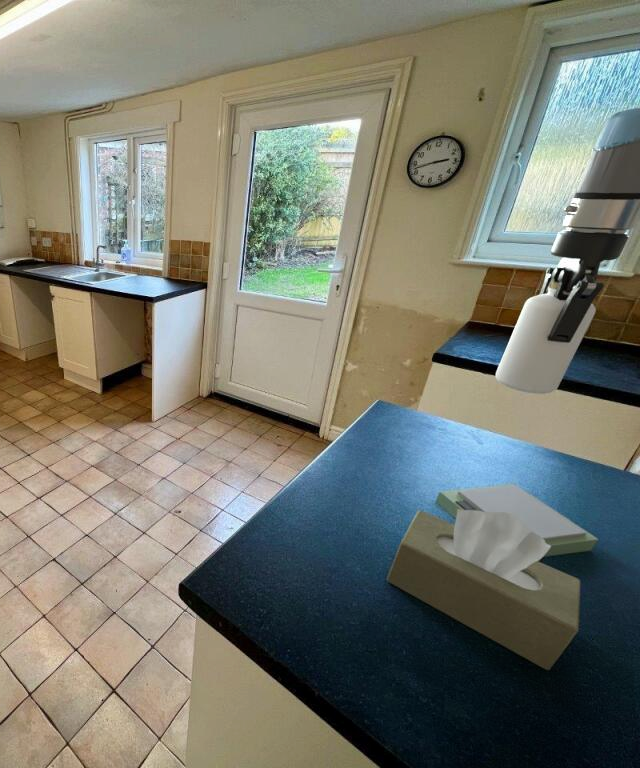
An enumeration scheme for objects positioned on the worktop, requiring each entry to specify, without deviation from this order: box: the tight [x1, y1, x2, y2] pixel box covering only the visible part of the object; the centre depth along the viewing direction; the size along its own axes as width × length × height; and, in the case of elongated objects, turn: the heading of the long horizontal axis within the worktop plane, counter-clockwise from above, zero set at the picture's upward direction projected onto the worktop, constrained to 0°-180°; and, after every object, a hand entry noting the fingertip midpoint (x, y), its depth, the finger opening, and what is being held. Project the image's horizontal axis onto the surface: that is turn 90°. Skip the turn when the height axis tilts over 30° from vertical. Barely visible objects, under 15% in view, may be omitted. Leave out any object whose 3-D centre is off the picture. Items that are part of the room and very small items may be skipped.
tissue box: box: [386, 508, 582, 671], centre depth 56 cm, size 19×10×16 cm, turn 44°
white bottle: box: [495, 281, 596, 395], centre depth 69 cm, size 8×8×18 cm
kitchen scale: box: [434, 483, 599, 558], centre depth 72 cm, size 16×14×3 cm
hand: (529, 372), depth 72 cm, fingers open, 2 cm apart
